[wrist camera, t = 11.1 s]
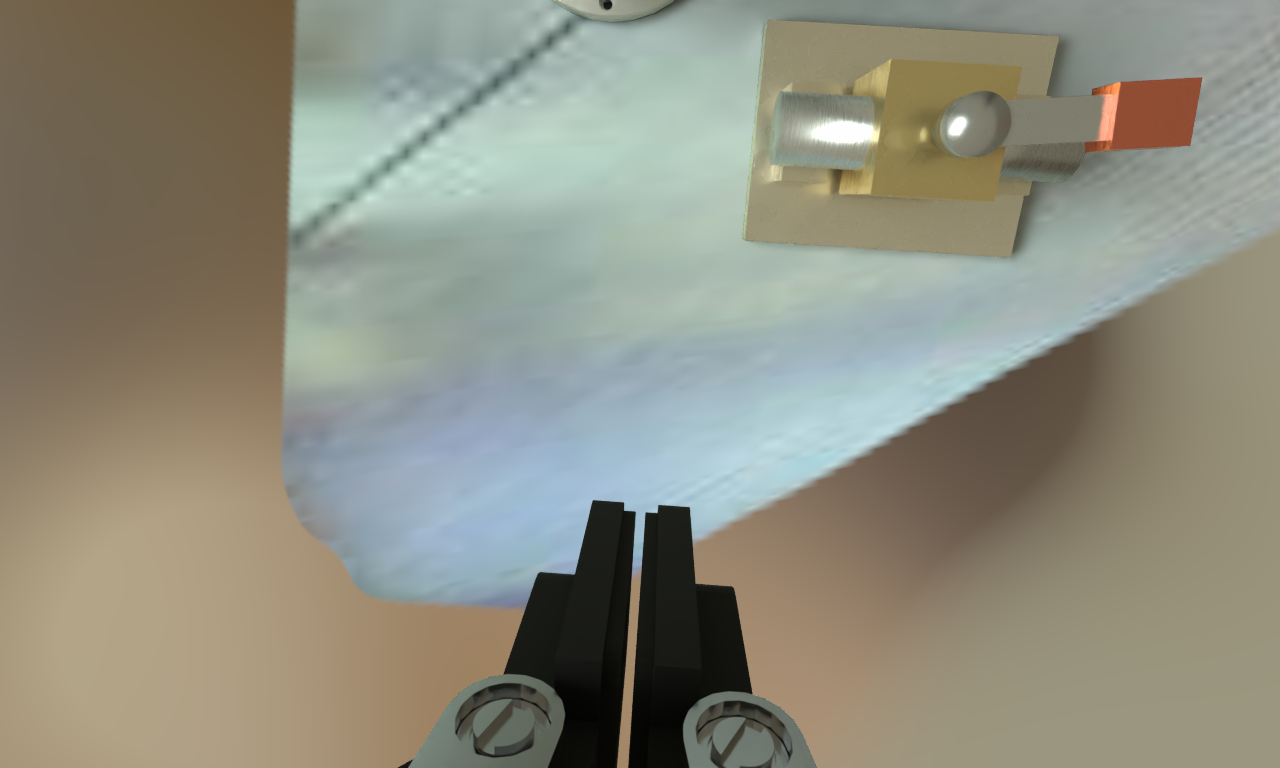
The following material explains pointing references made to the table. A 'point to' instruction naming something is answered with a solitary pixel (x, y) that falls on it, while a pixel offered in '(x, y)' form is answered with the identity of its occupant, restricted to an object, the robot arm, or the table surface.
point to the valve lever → (1073, 119)
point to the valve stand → (890, 138)
